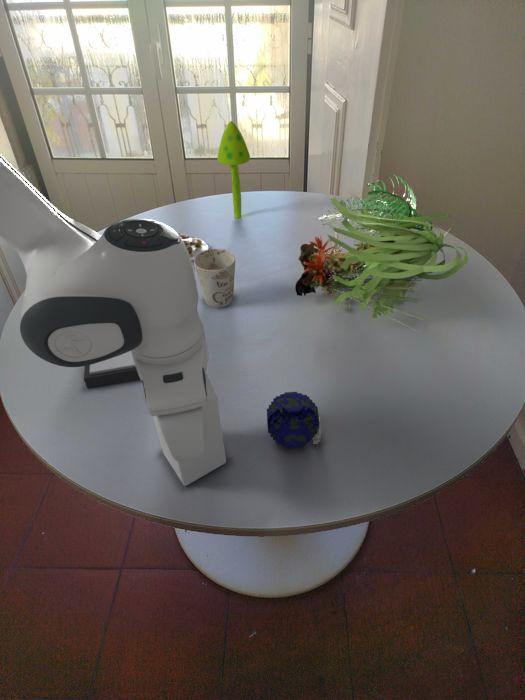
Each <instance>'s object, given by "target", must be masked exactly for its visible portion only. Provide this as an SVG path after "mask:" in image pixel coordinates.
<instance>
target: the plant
mask: <svg viewBox="0 0 525 700" xmlns="http://www.w3.org/2000/svg"><path fill="white" fill-rule="evenodd" d="M391 175H392V176H394V178H395V179H396V180H397V181H401V184H403V185H404V188H405V191H404V194H403V197H405V196H406V191H407V192H409V194H408V197H407V198H406V200H405V199H404V198H402V197H401V196H400V195H397V194H395V193H394V192H395V190H394V191H392V193H391V192H388V191H386V190H387V186H386V183H385V182H384V180H382V179H380V178H378V181H380V183H381V184H382V186H383V189H382V187H381V186H380V185H379V184H377V183H375V182H371V183H370V182H368V183H367V184H366V186H367V187H371V188H372V190H371V191H366V194H367V195H365V196H364V198H363V199H362V197H363V195H359V197H358V196H356V198H354V197H353V196H351V197H350V199H347V200H346V201H347V202H348V203H349V205H347V204H346V202H344V201H343V199H341V200H340V201H338V199H337V198H336V196H334V197H332V198H329V200H330V202H331V203H332V204H333V205H334V206H335V209H336V210H337V211H338V212H333V213H330V211H327V212H328V213H329V215H327V214H323V213H321V214H322V215H323V216H322V217H317V220H320V221H321V222H325V221H327V220H330V219H332V220H331V221H329V222H327V223H322V226H326V225H327V226H328V227H330V228H331V230H333V231H334V236H335V237H334V236H332V235H329V234H327V237H328V239H327V240H326V242H325V243H324V241H323V239H322V235H321V233H320V237H318V236H316V235H315V236H314V240H315V242H314V241H308V242H309V244H308V243H303V244H301V245H300V255H299V257H298V260H299V262H300V264H301V266H302V268H303V270H304V271H303V273H302V274H301V276H300V277H299V279H298V280H297V281H296V283H295V285H294V289H295V290H294V291H295V293H296V295H297V296H298V297H303V296H304V297H306V295H307V294H312V293H314V294H317V292H316V289H317V288H319V289H320V288H321V291H322V290H323V295H324V296H327V295H330V296H331V297H332V296H333V295H334V296H335V298H336V299H335V300H334V301H333V303H334V304H335V305H336V306H342V304H343V303H342V302H343V301H344V300H346V302H347V303H348V310H351V305H350V299H351V300H354V301H356V302H357V303H360V304H358V306H359V307H360V308H361V309H362V310H363V309H365V308H366V307H368V308H369V309H371V310H373V311H372V315H371V317H372V319H377V318H378V316H380V317H381V316H382V315H383V316H384V317H387V318H389V319H392V320H393V321H395V322H397V323H399V324H400V325H401V324H402V325H403V326H405V327H408V328H409V329H411V330H413V331H415V332H418V330H417V329H415V328H413V327H411V326H409V325H407V324H406V323H403V322H401V321H399V320H397V319H395V318H393V317H391V316H389V315H388V312H389V313H391V314H393V313H394V311H396V312H399V313H401V314H403V315H407V316H410V317H413V318H416V319H419V320H422V321H424V320H427V317H423V316H420V315H417V314H414V313H411V312H408V311H406V310H402V309H399V308H396V307H395V304H396V301H398V303H402V305H404V304H405V303H406V302H410V303H416V304H419V301H414V300H413V301H412V300H408V299H406V298H412V296H409V295H406V294H407V292H408V291H409V292H412V293H414V292H415V290H413V288H412V287H411V286H417V283H416V282H422V281H423V280H431V281H439V280H444V279H447V278H449V277H451V276H453V275H455V274H456V273H457V272H459V271H460V270H462V269H463V268H464V267H465V266H466V265H467V263H468V260H469V255H468V253H467V252H466V250H465V249H464V248H463V247H462V246H457V245H451V244H447V243H444V238H445V236H446V235H447V234H448V233H449V231H447V232H446V233H444V234H443V232H442V230H440V228H439V227H438V226H437V225H435V224H433V222H431V220H437V219H444V218H450V219H453V217H452V216H451V215H450V214H447V213H439V214H432V215H422V214H421V213H420V212H419V210H417V211H416V207H417V198H416V194H414V190H413V188H412V186H411V185H410V184H409V183H408V182H407V181H406V179H404V178H402V177H401V176H400V175H395V174H394V173H391ZM387 178H388V179H390V181H391V183H392V186H393V187H395V183H394V181H393V179H392V178H391V177H390V176H386V177H385V179H387ZM398 178H399V179H398ZM397 184H398V185H397V186H398V187H399V183H397ZM376 187H377V188H376ZM400 191H402V189H400ZM385 195H386V196H385ZM384 196H385V197H384ZM389 196H390V197H389ZM393 199H394V200H393ZM410 199H411V200H410ZM350 200H352V201H351V202H352V203H351V202H350ZM354 200H355V201H356V203H355V201H354ZM409 202H410V203H409ZM341 220H342V221H341ZM340 221H341V223H340V224H337V225H334V224H336V223H339V222H340ZM349 221H350V222H349ZM426 221H427V222H426ZM354 224H355V226H353V225H354ZM454 224H455V221H454V220H452V224H451V227H450V228H449V230H451V229H452V228H453V226H454ZM333 225H334V226H333ZM433 228H435V229H436V230H438V231H439V236H437V234H436V233H435V232H434V231H433ZM365 231H366V232H365ZM338 234H340V235H342V236H344V239H345V240H346V239H348V238H351V239H354V240H353V242H354V244H353V246H355V247H352V246H350V245H349V244H347V243H346V242H344V241H341V240H340V239H338V238H339V235H338ZM356 242H358V243H357V244H356ZM323 243H324V244H323ZM329 243H333V244H331V246H330V247H329V248H327V249H326V247H327V246H328V244H329ZM444 247H445V248H446V247H448V248H451V249H454V250H455V251H456V256H455V258H454V259H452V260H451V261H450V262H448V263H446V254H445V252H444V249H443V248H444ZM456 248H458V249H461V250H463V251H464V258H463V259H462V254H461V253H460V251H459V250H457V249H456ZM343 249H345V250H346V252H342V251H343ZM438 252H441V253H442V256H443V260H442V261H440V262H439V263H437V261H438ZM436 263H437V264H436ZM434 272H435V273H436V272H437V274H434ZM439 272H442V273H439ZM372 296H375V297H377V296H378V297H377V298H376V299H375V300H372V299H371V298H372ZM355 298H358V300H357V299H355ZM413 298H415V299H420V296H419V297H418V296H413ZM369 303H370V305H371V306H369V305H368V304H369ZM341 308H342V307H340V308H339V309H340V310H341Z"/></svg>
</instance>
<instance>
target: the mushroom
mask: <svg viewBox="0 0 525 700" xmlns="http://www.w3.org/2000/svg"><path fill="white" fill-rule="evenodd" d="M216 159H217V162H218V163H219V164H221V165H225V166H230V175H231V189H232V191H231V192H232V203H233V204H232V205H233V215H234V219H236V220H237V219H238V220H240V219H241V218H242V190H241V189H242V188H241V181H240V171H239V170H240V169H239V165H244V164H247V163H248V162H249V161H250V160H251V154H250V152H249V149H248V146H247V143H246V141H245V139H244V137H243V134H242V132H241V130H240V128H238V126H237V125H236V123H235V122H233V120H230V121H229V122H228V123H227V125H226V126H225V129H224V131H223V133H222V136H221V139H220V143H219V147H218V152H217V158H216Z"/></svg>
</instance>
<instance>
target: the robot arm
mask: <svg viewBox="0 0 525 700" xmlns="http://www.w3.org/2000/svg"><path fill="white" fill-rule="evenodd" d="M0 238H1V239H2V240H3V241H5V242H6V243H7V244H8V245H9V246H11V247H12V248H13V249H14V251H16V252H17V254H18V256H19V258H20V260H21V261H22V265H23V267H24V271H25V275H26V280H25V281H26V282H25V287H24V288H25V289H24V293H23V294H24V295H23V299H22V305H21V315H20V324H19V330H20V336H21V339H22V341H23V343H24V344H25V346H26V347H27V348H28V349H29V350H30V351H31V352H32V353H33V354H34V355H35V356H36V357H38V358H40V359H42V360H43V361H45V362H48V363H49V364H52V365H55V366H59V367H64V368H81V367H85V366H87V365H91V364H95V363H98V362H101V361H105V360H108V359H111V358H114V357H116V356H119V355H122V354H124V353H127V352H129V351H131V354H132V357H133V360H134V363H135V366H136V369H137V372H138V375H139V377H140V381H141V383H142V387H143V393H144V398H145V399H144V400H145V403H146V406H147V410H148V413H149V415H150V416H151V417H153V416H157V419H158V423H159V426H160V429H161V431H162V434H163V436H164V439H165V441H166V443H167V446H168V448H169V450H170V453H171V455H172V457H173V458H174V459H175V460H176V461H188V460H192V459H196V458H199V457H202V456H203V455H204V454H205V451H206V441H205V423H204V408H203V406H205V405H206V404H207V397H206V396H207V391H206V374H207V372H208V371H207V370H208V362H209V358H210V357H209V350H208V343H207V337H206V333H205V332H206V331H205V326H204V322H203V319H202V317H201V315H200V313H199V311H198V305H199V291H198V285H197V279H196V277H195V271H194V268H193V264H192V260H191V259H190V256H189V253H188V250H187V248H186V246H185V244H184V242H183V240H182V238H181V237H180V236H179V232H177V231H176V230H175V229H174V228H173V227H171V226H169V225H168V224H165V223H164V222H160V221H157V220H154V219H150V218H129V219H128V218H127V219H123V220H119V221H116V222H114V223H112V224H110V225H108V226H107V227H106V228H105V230H104V231H103V233H102V235H101V234H100V233H98V232H96V230H93V229H92V228H90V227H88V226H86V225H84V224H82V223H81V222H78V221H76V220H74V219H73V218H71V217H69V216H67V215H66V214H64V213H63V212H62V211H60V210H59V209H58V208H57V207H55V206H54V205H53V204H52V203H51V202H50V201H49V200H48V199H47V198H46V197H45V196H44V195H43V194H42V193H41V192H40V191H39V190H38V189H37V188H36V187H35V186H34V185H33V184H32V183H30V181H28V180H27V178H25V176H23V175H22V173H21V172H20V171H19V170H17V169H16V168H15V167H14V166H13V165H12V164H11V162H9V161H8V160H7V158H5V157H4V156H3V155H2V154H1V153H0Z"/></svg>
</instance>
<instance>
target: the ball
mask: <svg viewBox="0 0 525 700" xmlns="http://www.w3.org/2000/svg"><path fill="white" fill-rule="evenodd" d="M266 423H267V425H266V426H267V433H268V434H270V438H272V440H273V441H275V443H277V445H282V446H283V447H287V448H289V449H291V448H292V449H293V448H301V447H302V446H306V444H308V443H310V442H312V444H313V445H319V443H320V442H321V439H322V435H321V433H322V424H321V416H320V414H319V408H318V405H316V403H315V402H313V399H310V396H308V394H303V393H301V392H299V393H298V391H287V392H286V391H285V392H284V393H281V394H279V395H276V396H275V397H273V399H272V401H270V404H268V408H266Z"/></svg>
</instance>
